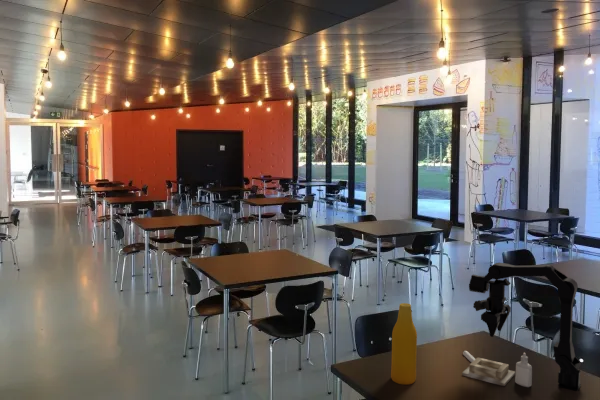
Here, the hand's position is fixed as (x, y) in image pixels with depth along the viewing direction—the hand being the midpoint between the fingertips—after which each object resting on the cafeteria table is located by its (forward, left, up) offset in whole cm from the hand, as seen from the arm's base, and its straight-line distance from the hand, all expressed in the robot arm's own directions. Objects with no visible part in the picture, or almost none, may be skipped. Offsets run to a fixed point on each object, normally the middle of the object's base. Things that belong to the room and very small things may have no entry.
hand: (495, 333), depth 211 cm
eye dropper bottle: (-13, +8, -15) cm, 21 cm away
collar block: (0, +7, -14) cm, 16 cm away
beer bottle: (+24, +32, -15) cm, 43 cm away
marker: (+11, -4, -15) cm, 19 cm away
